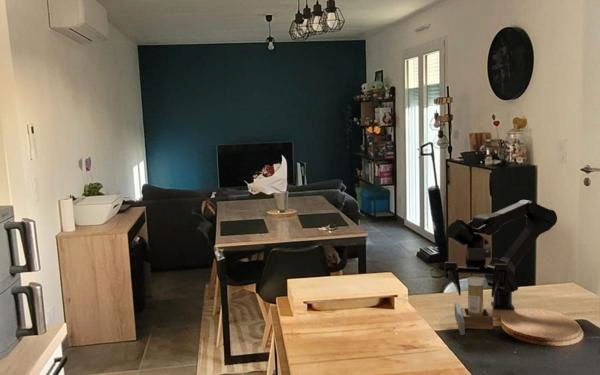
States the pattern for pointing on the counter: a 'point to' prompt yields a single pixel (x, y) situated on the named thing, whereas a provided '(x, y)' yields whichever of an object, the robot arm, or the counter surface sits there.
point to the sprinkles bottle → (475, 296)
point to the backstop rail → (459, 319)
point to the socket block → (478, 319)
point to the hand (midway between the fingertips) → (476, 295)
